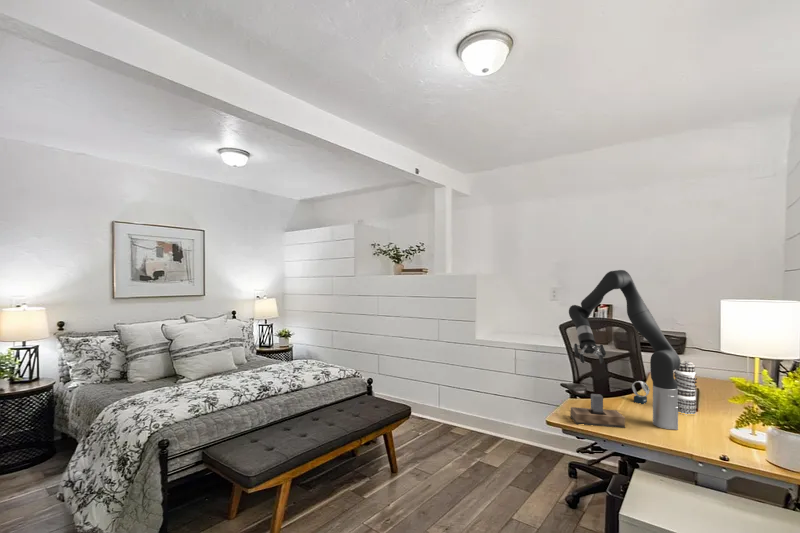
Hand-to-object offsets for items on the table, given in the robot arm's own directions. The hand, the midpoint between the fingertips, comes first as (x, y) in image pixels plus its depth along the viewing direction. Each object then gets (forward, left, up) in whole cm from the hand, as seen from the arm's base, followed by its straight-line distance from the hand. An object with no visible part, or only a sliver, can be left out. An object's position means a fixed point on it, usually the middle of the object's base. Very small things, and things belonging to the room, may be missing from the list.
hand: (592, 362), depth 198 cm
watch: (-20, -30, -24) cm, 43 cm away
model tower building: (-39, -23, -24) cm, 51 cm away
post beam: (-4, +18, -23) cm, 30 cm away
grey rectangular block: (-4, +18, -22) cm, 29 cm away
